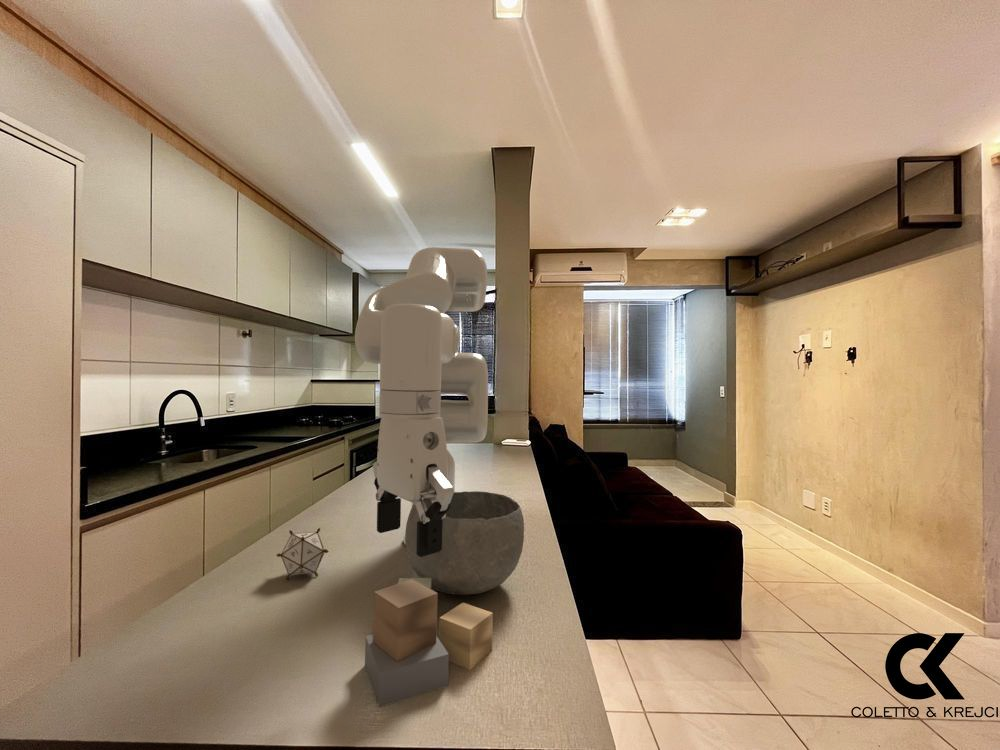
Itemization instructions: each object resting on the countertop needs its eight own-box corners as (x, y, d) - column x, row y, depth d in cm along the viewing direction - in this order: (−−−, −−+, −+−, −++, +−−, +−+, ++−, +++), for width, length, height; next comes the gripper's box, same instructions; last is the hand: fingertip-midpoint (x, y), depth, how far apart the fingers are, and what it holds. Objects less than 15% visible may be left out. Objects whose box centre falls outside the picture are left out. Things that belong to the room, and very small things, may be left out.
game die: (306, 599, 80) (304, 568, 75) (267, 578, 82) (263, 545, 76) (338, 559, 87) (339, 528, 82) (303, 540, 89) (301, 508, 84)
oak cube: (462, 638, 62) (462, 602, 63) (491, 650, 60) (492, 612, 60) (438, 656, 58) (439, 617, 58) (469, 670, 56) (470, 629, 56)
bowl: (430, 630, 64) (433, 524, 65) (388, 576, 82) (390, 493, 82) (546, 598, 75) (548, 507, 75) (487, 556, 92) (488, 483, 93)
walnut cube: (410, 625, 59) (411, 578, 59) (436, 642, 55) (437, 593, 55) (372, 641, 55) (374, 591, 55) (397, 661, 51) (399, 607, 51)
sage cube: (430, 609, 70) (431, 577, 70) (428, 626, 65) (429, 592, 65) (398, 610, 70) (399, 578, 70) (393, 628, 65) (394, 593, 65)
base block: (426, 652, 60) (427, 621, 60) (447, 688, 52) (448, 654, 53) (364, 668, 56) (365, 635, 56) (378, 710, 49) (379, 673, 49)
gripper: (477, 408, 52) (474, 555, 52) (401, 399, 65) (399, 517, 65) (422, 411, 47) (418, 574, 47) (352, 401, 60) (349, 528, 60)
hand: (407, 541), depth 56 cm, fingers open, 9 cm apart
